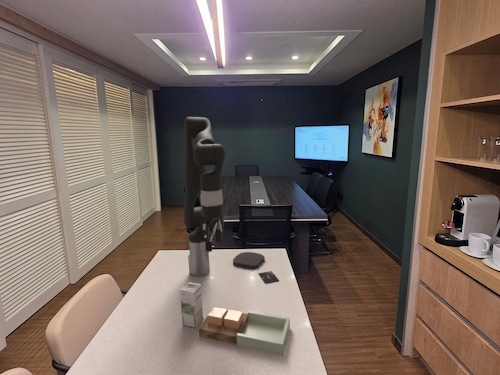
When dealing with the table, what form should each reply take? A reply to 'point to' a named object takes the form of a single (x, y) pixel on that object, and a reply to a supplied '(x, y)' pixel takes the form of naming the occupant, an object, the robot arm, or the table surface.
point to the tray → (265, 333)
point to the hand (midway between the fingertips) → (214, 246)
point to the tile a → (217, 316)
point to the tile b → (233, 319)
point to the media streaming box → (248, 260)
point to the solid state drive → (268, 277)
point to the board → (222, 331)
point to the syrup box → (191, 304)
